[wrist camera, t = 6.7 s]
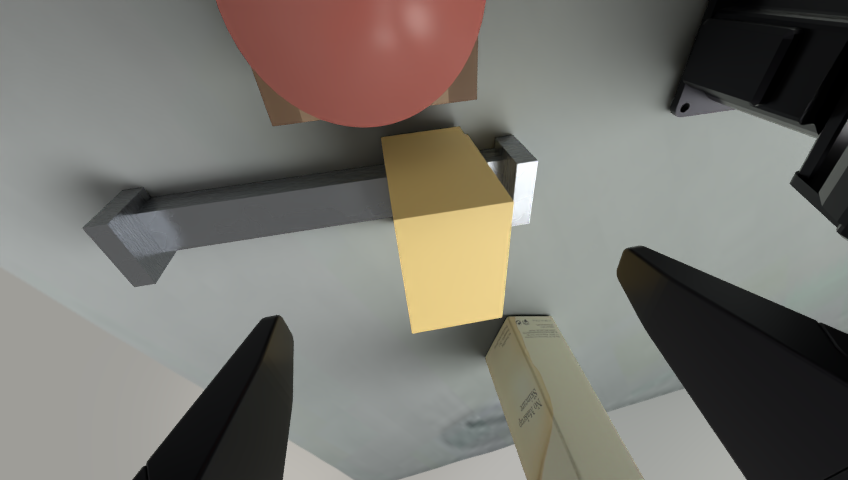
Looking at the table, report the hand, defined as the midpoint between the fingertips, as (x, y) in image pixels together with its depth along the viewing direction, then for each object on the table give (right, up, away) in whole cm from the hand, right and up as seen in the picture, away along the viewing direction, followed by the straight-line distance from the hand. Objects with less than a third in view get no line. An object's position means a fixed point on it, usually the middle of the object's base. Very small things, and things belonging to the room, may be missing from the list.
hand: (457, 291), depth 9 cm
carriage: (-1, +5, +10) cm, 11 cm away
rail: (-6, +4, +10) cm, 12 cm away
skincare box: (+7, -7, +22) cm, 24 cm away
